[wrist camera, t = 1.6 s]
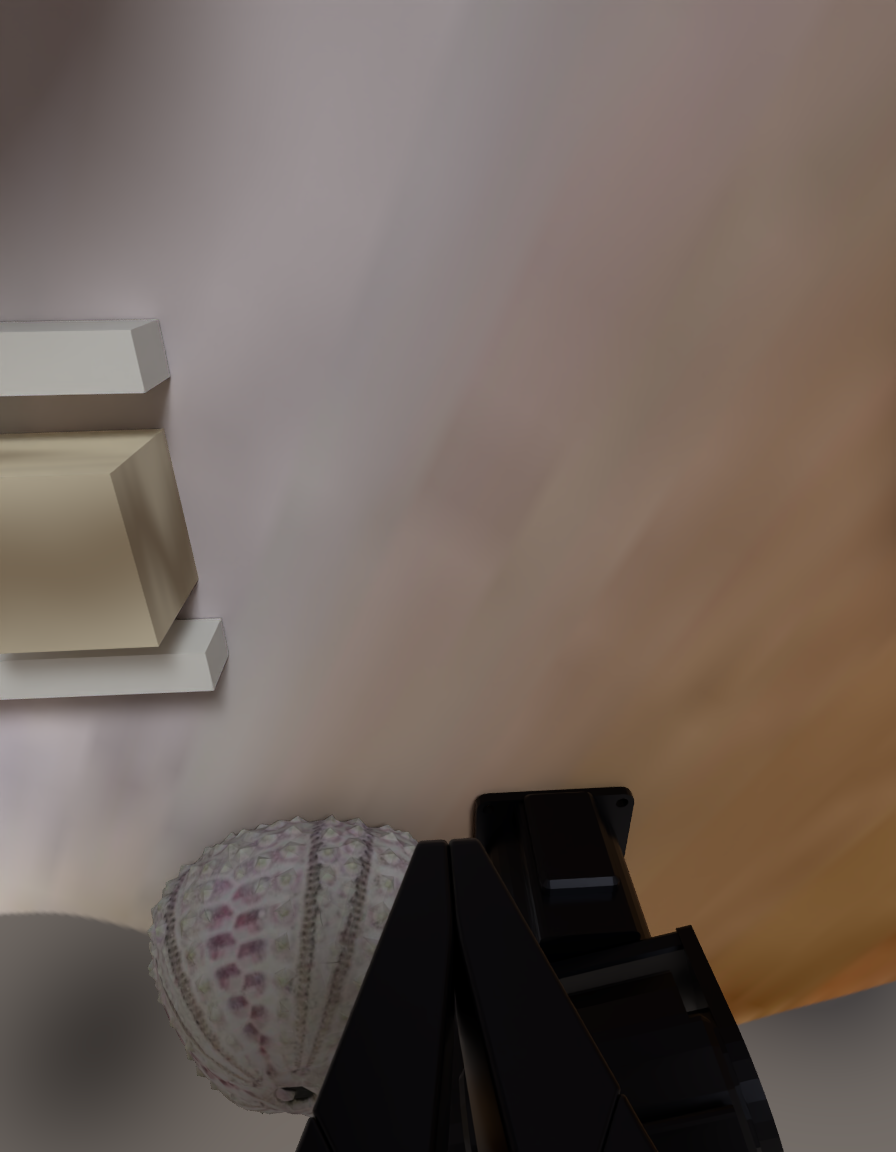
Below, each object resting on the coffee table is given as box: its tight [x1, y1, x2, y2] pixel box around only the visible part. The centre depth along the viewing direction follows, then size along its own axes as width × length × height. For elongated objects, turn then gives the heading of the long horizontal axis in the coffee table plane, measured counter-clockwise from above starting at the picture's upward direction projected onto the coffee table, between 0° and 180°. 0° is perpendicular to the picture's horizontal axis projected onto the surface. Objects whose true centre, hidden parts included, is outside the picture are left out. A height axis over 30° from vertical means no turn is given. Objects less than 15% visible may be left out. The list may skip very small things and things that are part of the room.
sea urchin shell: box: [147, 815, 418, 1117], centre depth 26 cm, size 13×14×8 cm
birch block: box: [0, 429, 198, 654], centre depth 18 cm, size 5×5×4 cm
